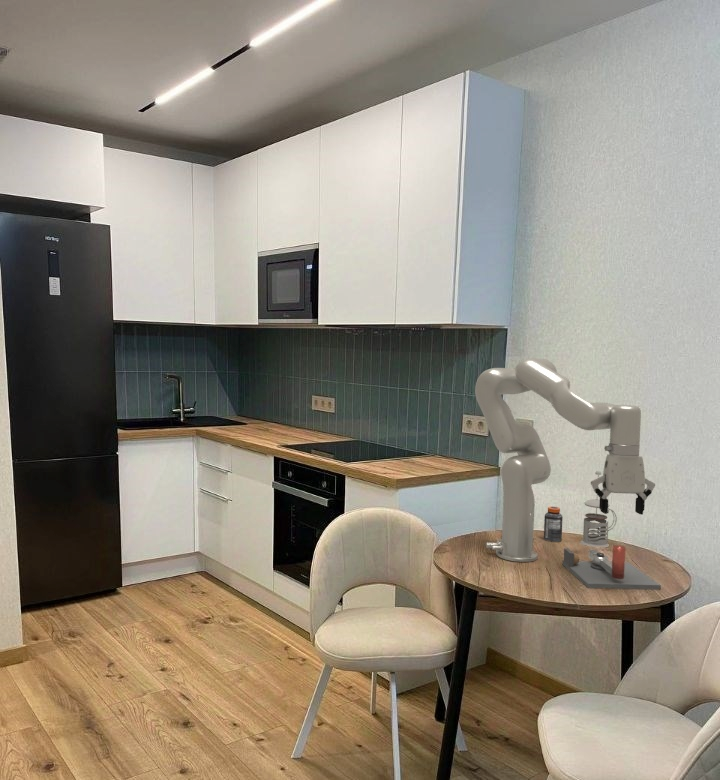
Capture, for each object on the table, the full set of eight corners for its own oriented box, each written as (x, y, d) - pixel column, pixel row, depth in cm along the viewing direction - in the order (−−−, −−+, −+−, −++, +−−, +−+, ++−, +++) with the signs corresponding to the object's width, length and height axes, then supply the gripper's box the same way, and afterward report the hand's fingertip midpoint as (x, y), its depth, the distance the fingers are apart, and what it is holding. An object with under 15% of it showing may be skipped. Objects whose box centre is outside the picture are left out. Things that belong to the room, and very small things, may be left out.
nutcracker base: (587, 587, 172) (588, 568, 172) (562, 564, 192) (563, 547, 192) (660, 589, 172) (661, 570, 172) (627, 565, 192) (628, 548, 192)
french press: (575, 539, 220) (578, 468, 219) (607, 540, 221) (611, 468, 219) (586, 548, 210) (589, 473, 209) (620, 548, 211) (624, 474, 210)
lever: (612, 579, 172) (613, 547, 172) (585, 557, 192) (586, 529, 191) (628, 579, 172) (629, 548, 172) (599, 558, 192) (601, 529, 191)
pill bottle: (549, 536, 223) (550, 504, 223) (564, 540, 219) (566, 507, 218) (540, 539, 219) (541, 506, 219) (556, 543, 215) (557, 510, 214)
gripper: (598, 451, 169) (595, 515, 169) (662, 453, 169) (659, 517, 170) (587, 448, 176) (584, 509, 177) (648, 449, 177) (646, 510, 177)
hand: (621, 513), depth 173 cm, fingers open, 9 cm apart
